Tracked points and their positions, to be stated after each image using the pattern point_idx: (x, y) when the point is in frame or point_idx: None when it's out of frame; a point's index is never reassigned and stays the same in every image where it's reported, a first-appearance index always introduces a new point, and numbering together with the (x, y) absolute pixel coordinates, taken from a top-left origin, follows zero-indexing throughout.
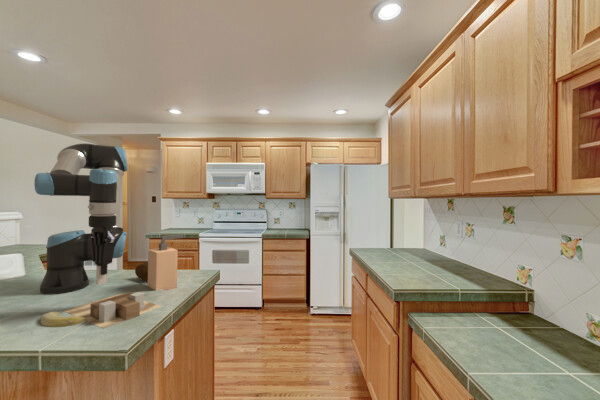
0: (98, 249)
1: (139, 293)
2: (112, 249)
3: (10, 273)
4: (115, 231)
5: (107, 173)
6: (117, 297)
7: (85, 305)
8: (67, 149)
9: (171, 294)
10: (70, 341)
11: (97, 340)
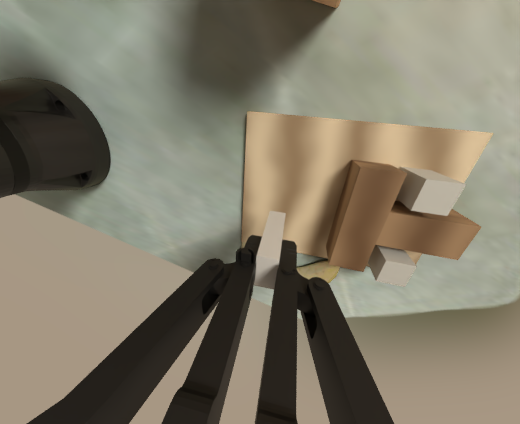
0: (231, 369)
1: (443, 191)
2: (376, 402)
3: None
4: None
5: None
6: (361, 217)
7: (252, 210)
8: None
9: None
10: (374, 298)
11: (423, 290)
